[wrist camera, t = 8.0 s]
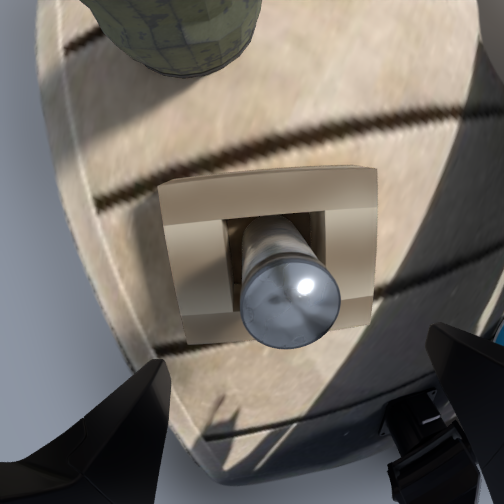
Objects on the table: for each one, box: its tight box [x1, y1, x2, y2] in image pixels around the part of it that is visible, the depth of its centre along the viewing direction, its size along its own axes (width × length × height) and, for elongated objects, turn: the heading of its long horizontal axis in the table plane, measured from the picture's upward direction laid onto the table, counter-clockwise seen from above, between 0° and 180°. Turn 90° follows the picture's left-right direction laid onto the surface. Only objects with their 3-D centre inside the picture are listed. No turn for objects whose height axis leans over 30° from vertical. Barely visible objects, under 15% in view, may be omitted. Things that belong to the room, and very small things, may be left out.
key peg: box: [240, 215, 341, 349], centre depth 16 cm, size 4×4×9 cm
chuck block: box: [157, 165, 378, 345], centre depth 19 cm, size 10×12×4 cm
